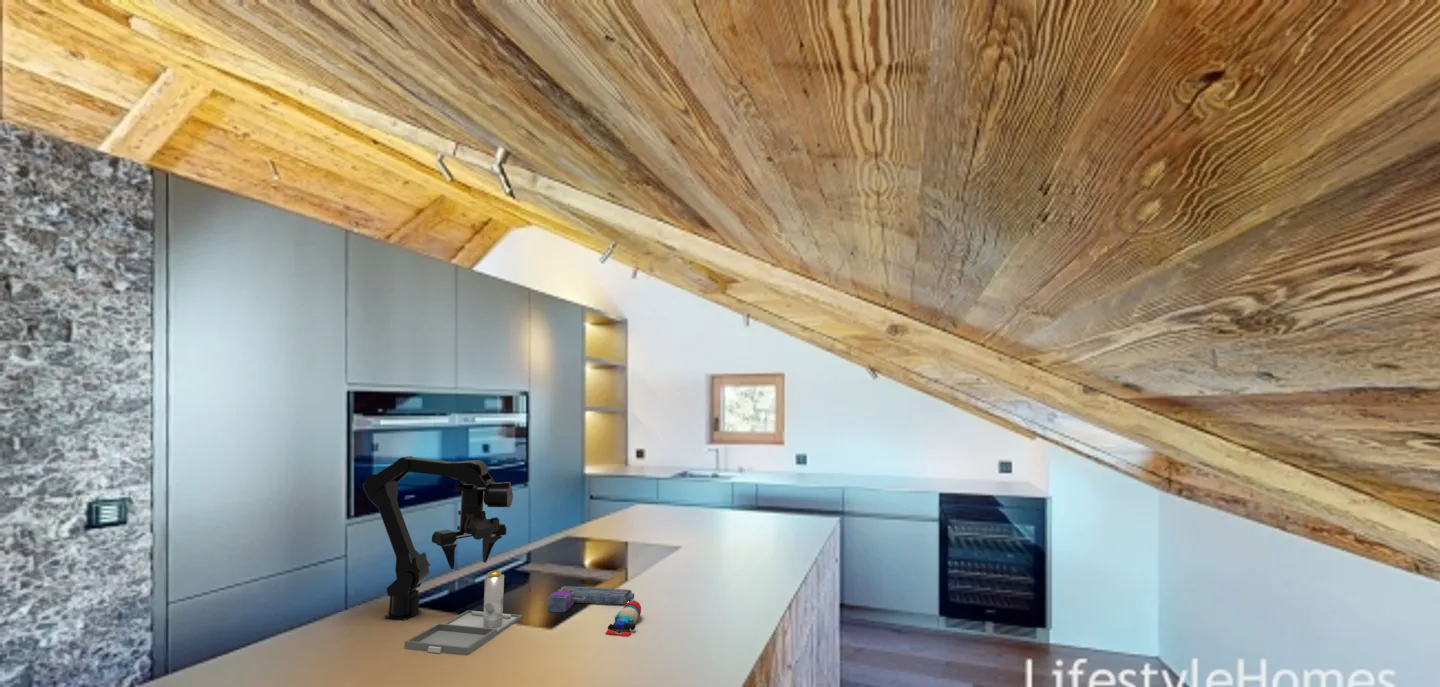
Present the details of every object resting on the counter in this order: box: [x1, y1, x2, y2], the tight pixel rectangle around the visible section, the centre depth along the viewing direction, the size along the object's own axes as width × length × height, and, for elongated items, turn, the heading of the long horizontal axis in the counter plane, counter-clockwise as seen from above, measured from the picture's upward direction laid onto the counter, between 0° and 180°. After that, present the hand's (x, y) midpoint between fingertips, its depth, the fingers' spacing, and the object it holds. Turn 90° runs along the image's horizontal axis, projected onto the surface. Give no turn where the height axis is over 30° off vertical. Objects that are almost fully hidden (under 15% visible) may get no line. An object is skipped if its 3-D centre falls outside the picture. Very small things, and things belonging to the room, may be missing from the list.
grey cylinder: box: [483, 570, 505, 628], centre depth 152 cm, size 5×5×13 cm
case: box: [403, 622, 498, 656], centre depth 141 cm, size 16×13×2 cm
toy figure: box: [604, 600, 642, 638], centre depth 156 cm, size 8×5×15 cm
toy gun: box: [546, 585, 635, 613], centre depth 172 cm, size 4×23×15 cm
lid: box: [443, 609, 523, 636], centre depth 153 cm, size 16×13×2 cm
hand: (468, 565), depth 162 cm, fingers open, 9 cm apart
